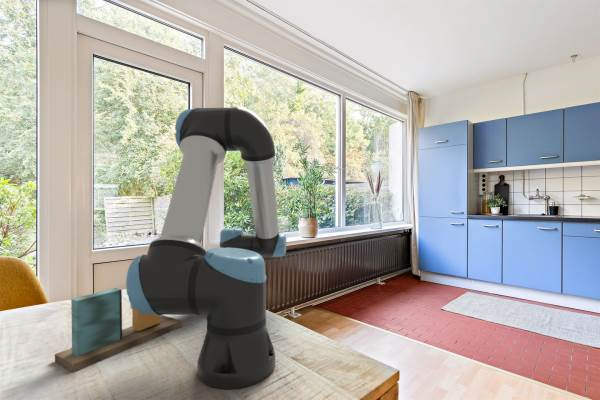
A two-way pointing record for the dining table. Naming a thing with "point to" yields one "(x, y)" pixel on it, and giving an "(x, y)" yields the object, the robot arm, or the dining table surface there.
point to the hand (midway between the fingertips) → (135, 304)
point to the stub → (144, 320)
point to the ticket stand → (104, 330)
